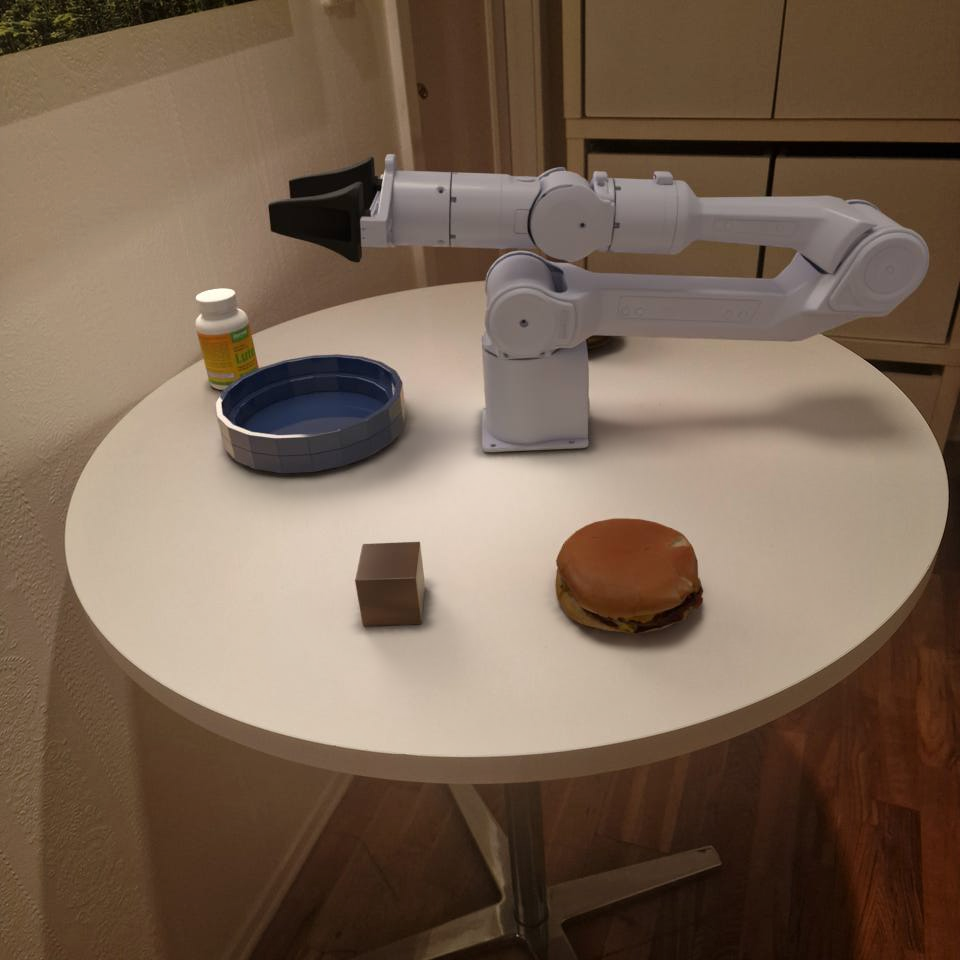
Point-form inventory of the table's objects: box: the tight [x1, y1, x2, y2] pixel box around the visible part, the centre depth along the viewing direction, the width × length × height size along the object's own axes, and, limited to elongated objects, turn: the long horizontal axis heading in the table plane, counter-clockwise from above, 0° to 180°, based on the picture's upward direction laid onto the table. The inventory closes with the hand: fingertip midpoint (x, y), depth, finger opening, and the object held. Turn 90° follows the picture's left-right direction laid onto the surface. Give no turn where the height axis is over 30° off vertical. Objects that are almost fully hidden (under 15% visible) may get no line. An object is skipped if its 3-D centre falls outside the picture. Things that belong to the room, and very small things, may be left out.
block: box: [354, 541, 426, 627], centre depth 56 cm, size 4×4×4 cm
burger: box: [554, 517, 704, 634], centre depth 56 cm, size 10×9×5 cm
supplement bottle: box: [194, 288, 260, 391], centre depth 88 cm, size 5×5×10 cm
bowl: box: [214, 353, 407, 474], centre depth 79 cm, size 17×17×4 cm
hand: (280, 204), depth 66 cm, fingers open, 7 cm apart
